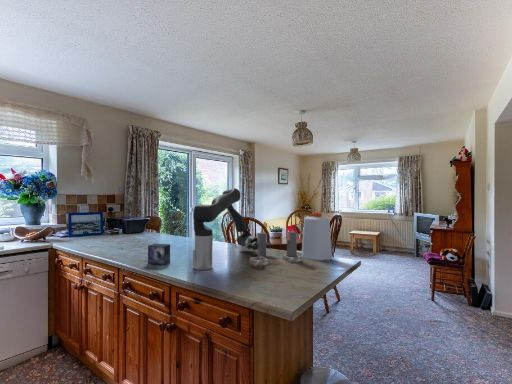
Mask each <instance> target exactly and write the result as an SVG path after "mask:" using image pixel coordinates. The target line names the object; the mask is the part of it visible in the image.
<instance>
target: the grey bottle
mask: <svg viewBox="0 0 512 384" xmlns="http://www.w3.org/2000/svg"><path fill="white" fill-rule="evenodd" d="M303 219H304V220H303V231H302V233H303V234H302V244H301V257H302V258H304V259H307V260H308V259H309V260H312V261H325V260H327V261H331V260H332V259H333V255H332V252H333V251H332V240H331V223H330V218H329V217H325V216H323V213H322V212H319V211H317V212H315V211H314V212H311V216H307V217H305V218H303Z"/></svg>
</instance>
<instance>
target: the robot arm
mask: <svg viewBox="0 0 512 384" xmlns="http://www.w3.org/2000/svg"><path fill="white" fill-rule="evenodd" d="M240 199H241V191H240V190H239V189H238V188H236V187H235V188H230V189H226V190H224V191H223V192H222V194H220V195H217V196H215V198H213V199H212V201H211V204H196V205H195V206H194V207H193V217H192V219H193V231H194V249H193V250H192V269H195V270H197V271H207V270H211V269H213V246H214V245H213V241H214V240H213V238H214V237H213V233H214V232H213V229H212V228H209V227H208V226H206V225H205V223H212V222H214V221H215V220H216V219H217V218H218V216H219V215H220V214H221V213H223V212H224V211H226V210H228V212H229V214H230V216H231V218H232V221H233V224H234V226H235V230H236V232H237V233H241V234H240V235H238V236H237V238H236V243H237V244H238V245H239V246H242V247H246V248H247V249H249V250H250V249H251V250H252V251H257V237H256V236H253V235H252V234H251V233H250V231H249V229H248V228H247V225H246V222H245V219H244V217H243V216H242V214H241V213H240V212H239V211H237V209H235V207H234V206H233V204H235V203H237V202H239V201H240ZM271 245H272V243H271V242H270V241H269V242H268V241H266V249H268V250H269V249H271V247H272V246H271Z"/></svg>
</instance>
